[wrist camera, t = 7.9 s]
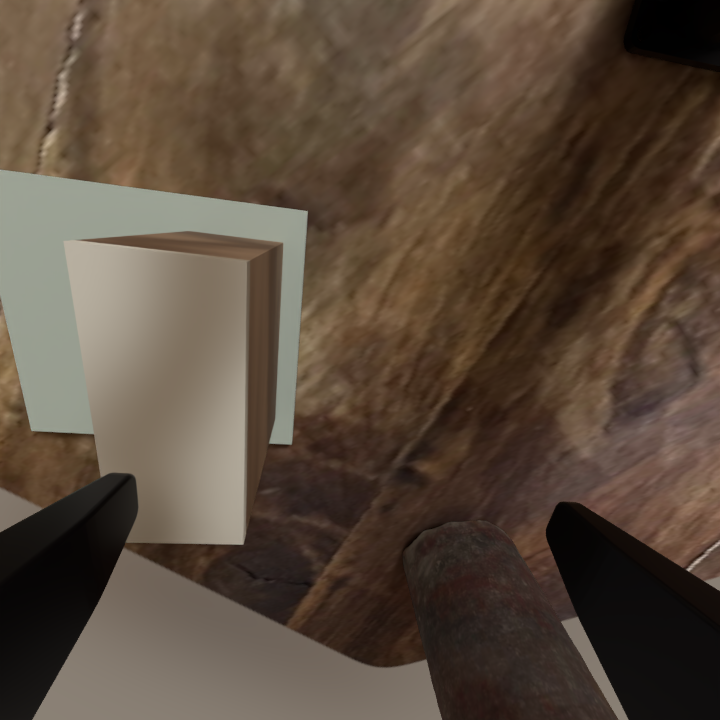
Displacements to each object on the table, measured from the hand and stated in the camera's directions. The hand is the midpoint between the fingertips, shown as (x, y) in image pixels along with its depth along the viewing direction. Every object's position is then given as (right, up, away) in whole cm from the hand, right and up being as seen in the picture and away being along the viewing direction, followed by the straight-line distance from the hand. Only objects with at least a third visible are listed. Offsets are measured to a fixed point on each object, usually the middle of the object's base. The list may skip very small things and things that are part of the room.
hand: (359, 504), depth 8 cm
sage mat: (-9, +5, +10) cm, 14 cm away
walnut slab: (-6, +4, +10) cm, 12 cm away
